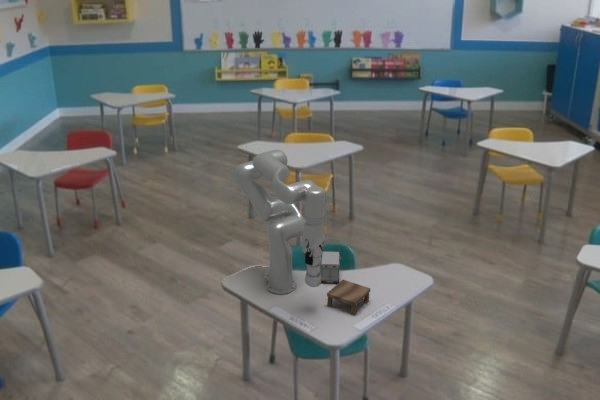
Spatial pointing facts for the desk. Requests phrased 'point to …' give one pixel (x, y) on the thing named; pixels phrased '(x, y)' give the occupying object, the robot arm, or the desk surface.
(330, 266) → the toy vehicle
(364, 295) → the walnut stand
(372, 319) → the desk surface
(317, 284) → the plastic bottle
